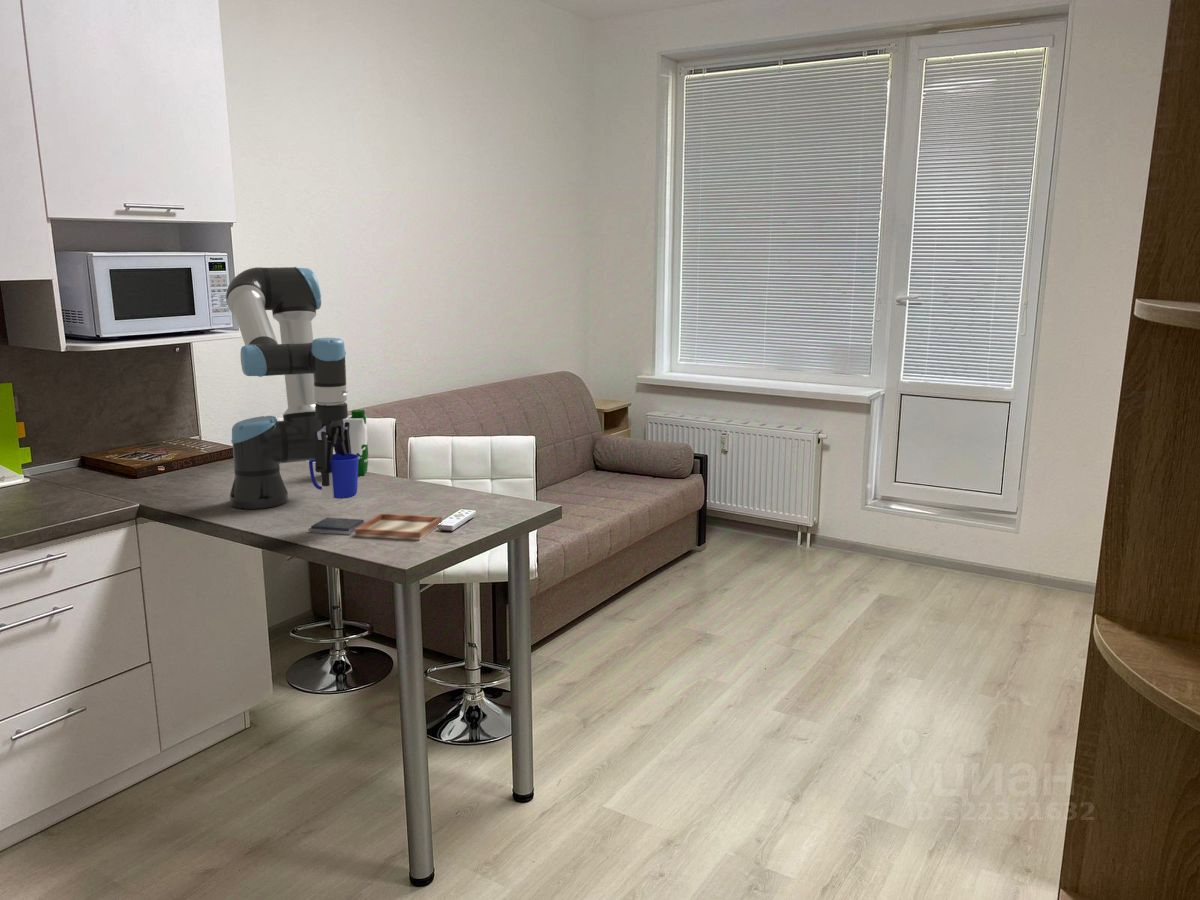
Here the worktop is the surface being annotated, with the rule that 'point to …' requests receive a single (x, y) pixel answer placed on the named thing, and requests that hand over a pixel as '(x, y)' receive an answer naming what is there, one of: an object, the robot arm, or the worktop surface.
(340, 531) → the ink pad
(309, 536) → the worktop surface
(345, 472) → the mug
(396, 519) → the sand box
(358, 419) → the milk carton
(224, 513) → the worktop surface
